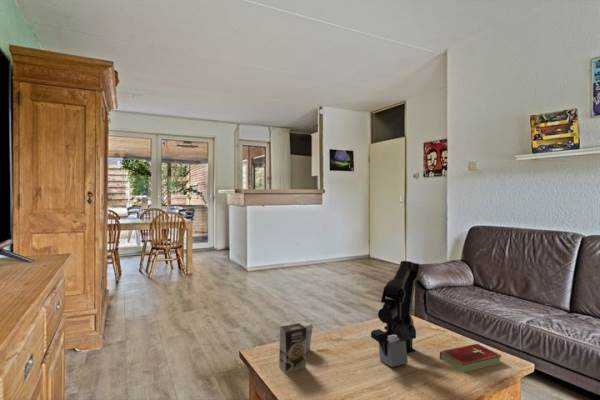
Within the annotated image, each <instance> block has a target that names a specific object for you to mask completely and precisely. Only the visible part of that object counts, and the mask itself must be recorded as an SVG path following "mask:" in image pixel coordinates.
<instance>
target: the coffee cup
mask: <svg viewBox="0 0 600 400" xmlns="http://www.w3.org/2000/svg"><path fill="white" fill-rule="evenodd" d="M297 323H300V324H301V325H303V326H305V327H306V328H307V333H306V354H307V353H309V352H310V349H311V341H312V336H313V335H312V334H313V333H312V332H313V328H314V325H313V323H312V321H310V320H309V319H299V320H296V321H295V322H294V324H297Z"/></svg>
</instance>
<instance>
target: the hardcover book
mask: <svg viewBox="0 0 600 400" xmlns="http://www.w3.org/2000/svg"><path fill="white" fill-rule="evenodd" d="M501 357H502V354H500V353H498V352H496V351H493V350H491V349H489V348H487V347H485V346H483V345H481V344H479V343H474V344H470V345H465V346H460V347H455V348H450V349H445V350H440V351H439V359H440V360H442V361H443V362H445V363H447V364H448V365H449V366H450V365H451V366H452V367H453V368H455V369H456V370H458V371H460V372H462V373H465V372H470V371H473V370H477V369H481V368H487V367H490V366H496V365H499V364H501Z"/></svg>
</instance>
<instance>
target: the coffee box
mask: <svg viewBox="0 0 600 400" xmlns="http://www.w3.org/2000/svg"><path fill="white" fill-rule="evenodd" d="M306 333H307V328H306V327H305V326H303V325H301V324H300V323H297V324H295V323H293V324H287V325H283V326H279V357H278V358H279V360H278V361H279V362H278V367H279V368H280V369H281V370H282V372H284V374H289V373H293V372H298V371H300V370H304V369H307V353H306Z"/></svg>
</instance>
